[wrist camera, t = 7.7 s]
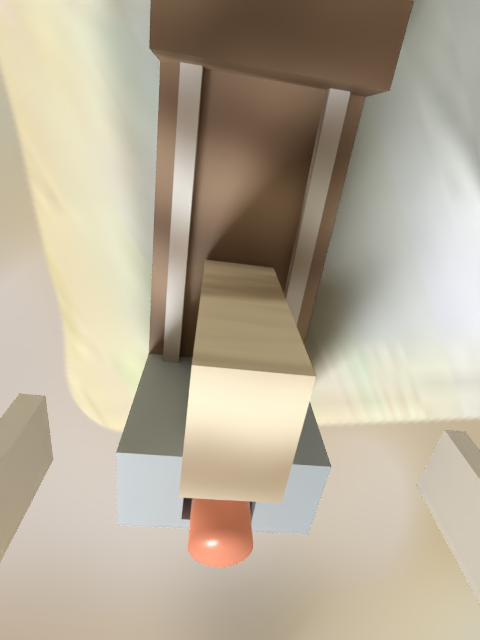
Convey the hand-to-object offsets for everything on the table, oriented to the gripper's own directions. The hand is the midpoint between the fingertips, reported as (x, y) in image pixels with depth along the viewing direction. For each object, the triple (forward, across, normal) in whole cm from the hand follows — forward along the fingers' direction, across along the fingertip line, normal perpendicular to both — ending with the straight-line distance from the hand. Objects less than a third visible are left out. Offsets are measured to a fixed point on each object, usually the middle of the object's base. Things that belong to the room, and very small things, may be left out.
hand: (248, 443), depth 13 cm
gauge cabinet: (+13, 0, -7) cm, 15 cm away
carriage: (+11, 0, -1) cm, 11 cm away
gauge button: (+5, 0, -7) cm, 8 cm away
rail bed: (+13, 0, +4) cm, 14 cm away
